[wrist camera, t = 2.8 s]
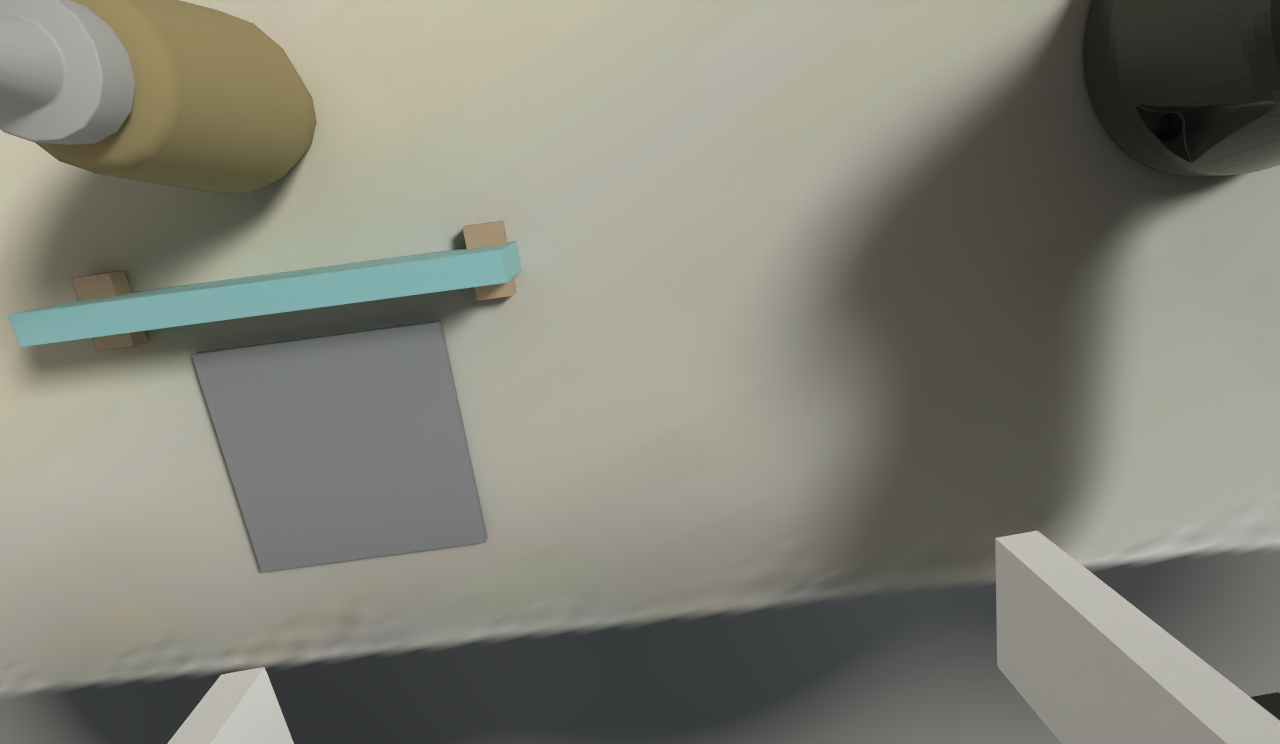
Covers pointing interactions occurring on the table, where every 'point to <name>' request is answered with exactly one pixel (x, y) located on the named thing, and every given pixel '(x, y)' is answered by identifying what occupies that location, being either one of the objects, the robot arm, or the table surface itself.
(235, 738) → the robot arm
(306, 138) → the squeeze bottle
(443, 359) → the mat
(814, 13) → the table surface
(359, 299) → the fence
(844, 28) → the table surface
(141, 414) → the table surface
